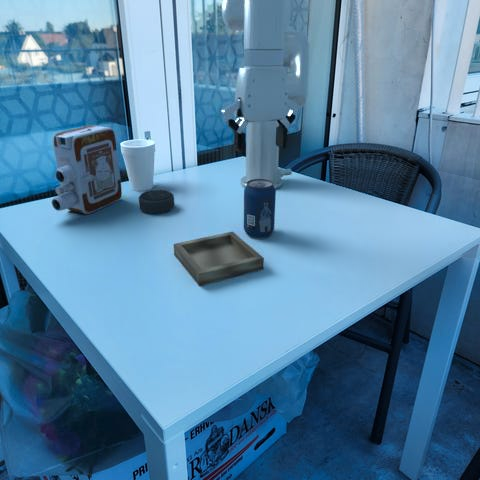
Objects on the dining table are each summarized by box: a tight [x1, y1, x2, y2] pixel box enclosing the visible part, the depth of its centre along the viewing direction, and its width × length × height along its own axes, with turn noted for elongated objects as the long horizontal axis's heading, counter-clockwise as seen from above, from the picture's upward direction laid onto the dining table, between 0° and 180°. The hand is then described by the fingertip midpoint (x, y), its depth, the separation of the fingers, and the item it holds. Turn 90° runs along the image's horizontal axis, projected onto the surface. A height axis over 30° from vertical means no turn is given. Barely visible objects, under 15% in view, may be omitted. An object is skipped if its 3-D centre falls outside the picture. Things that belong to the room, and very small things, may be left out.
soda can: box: [243, 179, 277, 239], centre depth 95 cm, size 7×7×12 cm
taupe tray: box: [173, 231, 265, 287], centre depth 84 cm, size 13×13×2 cm
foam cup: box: [120, 138, 156, 192], centre depth 122 cm, size 10×9×13 cm
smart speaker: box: [138, 189, 175, 215], centre depth 110 cm, size 9×9×4 cm
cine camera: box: [51, 124, 123, 215], centre depth 106 cm, size 9×19×20 cm, turn 152°
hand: (260, 149), depth 88 cm, fingers open, 9 cm apart
